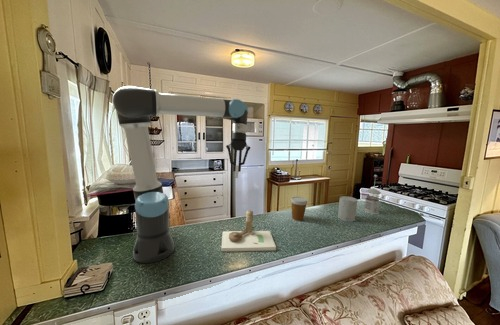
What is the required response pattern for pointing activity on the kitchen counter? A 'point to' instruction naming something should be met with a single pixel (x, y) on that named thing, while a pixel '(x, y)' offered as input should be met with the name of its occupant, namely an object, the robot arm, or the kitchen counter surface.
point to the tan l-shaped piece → (238, 236)
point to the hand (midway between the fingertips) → (236, 177)
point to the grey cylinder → (347, 208)
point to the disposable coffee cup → (298, 208)
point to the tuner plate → (249, 242)
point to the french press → (372, 201)
